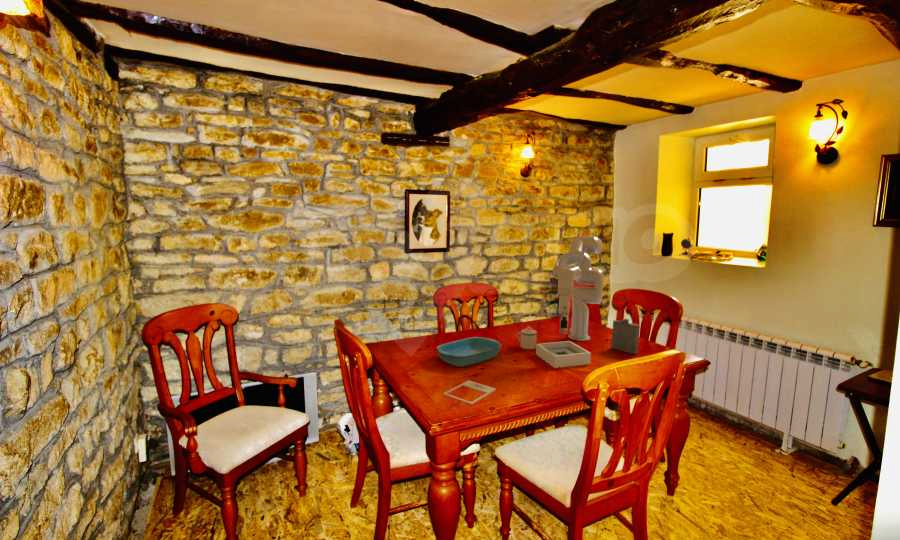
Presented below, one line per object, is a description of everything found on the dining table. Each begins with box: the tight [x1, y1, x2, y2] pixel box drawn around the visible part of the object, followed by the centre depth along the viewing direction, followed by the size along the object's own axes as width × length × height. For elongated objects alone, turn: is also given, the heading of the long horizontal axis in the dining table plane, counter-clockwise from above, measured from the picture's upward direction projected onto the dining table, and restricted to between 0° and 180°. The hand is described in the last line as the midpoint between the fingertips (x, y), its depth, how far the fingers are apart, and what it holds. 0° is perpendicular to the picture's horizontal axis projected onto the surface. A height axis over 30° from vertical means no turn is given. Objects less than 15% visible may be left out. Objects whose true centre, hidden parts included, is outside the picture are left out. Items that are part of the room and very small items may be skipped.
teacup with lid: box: [516, 326, 538, 350], centre depth 244 cm, size 12×9×12 cm
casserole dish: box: [436, 336, 502, 368], centre depth 226 cm, size 37×22×7 cm, turn 130°
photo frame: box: [443, 379, 497, 405], centre depth 185 cm, size 15×1×18 cm
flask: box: [611, 318, 640, 355], centre depth 237 cm, size 4×14×18 cm, turn 43°
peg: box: [559, 313, 569, 335], centre depth 222 cm, size 4×4×10 cm
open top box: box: [535, 340, 592, 369], centre depth 225 cm, size 20×20×6 cm
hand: (563, 326), depth 222 cm, fingers closed on peg, 4 cm apart
